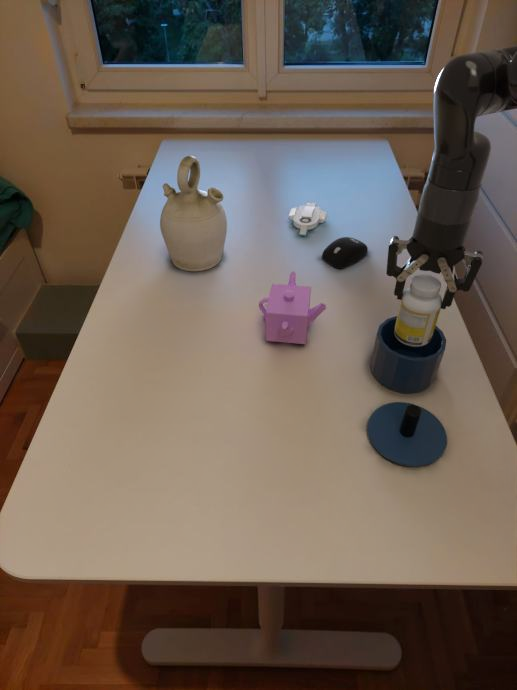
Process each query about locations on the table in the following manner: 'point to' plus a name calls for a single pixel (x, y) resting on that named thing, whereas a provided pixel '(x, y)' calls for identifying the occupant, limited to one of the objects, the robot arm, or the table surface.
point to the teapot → (289, 312)
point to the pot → (405, 360)
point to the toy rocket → (307, 217)
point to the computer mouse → (344, 252)
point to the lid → (407, 434)
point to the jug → (193, 221)
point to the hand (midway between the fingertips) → (421, 301)
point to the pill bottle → (418, 311)
